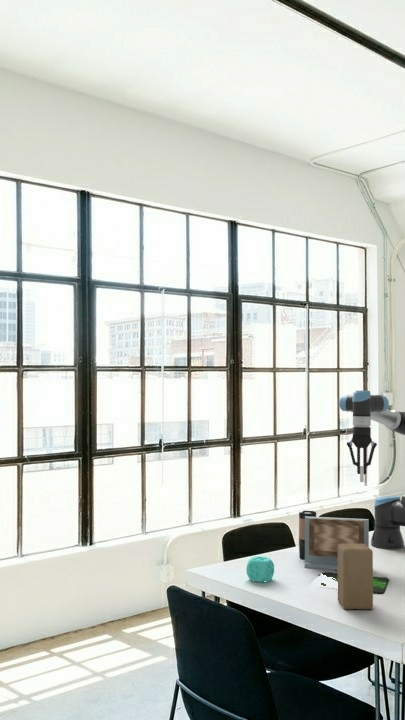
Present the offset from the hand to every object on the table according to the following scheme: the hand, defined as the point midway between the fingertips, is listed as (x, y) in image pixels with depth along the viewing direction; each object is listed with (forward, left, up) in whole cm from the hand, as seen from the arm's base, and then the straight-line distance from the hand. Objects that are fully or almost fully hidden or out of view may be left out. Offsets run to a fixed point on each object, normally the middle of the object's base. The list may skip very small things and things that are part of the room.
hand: (361, 481), depth 290 cm
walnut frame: (+18, -1, -29) cm, 34 cm away
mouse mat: (+29, +13, -35) cm, 47 cm away
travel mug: (+10, -21, -35) cm, 42 cm away
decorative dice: (+51, -13, -35) cm, 63 cm away
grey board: (+13, -4, -34) cm, 37 cm away
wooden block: (+52, +30, -35) cm, 69 cm away
